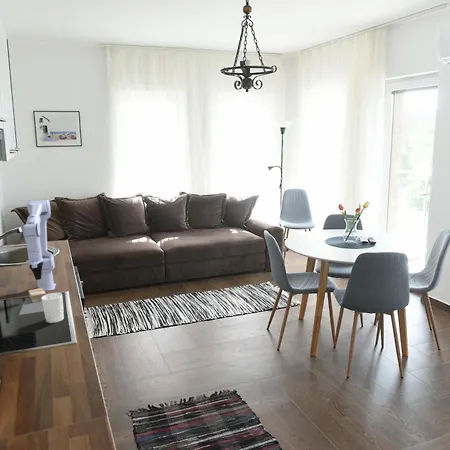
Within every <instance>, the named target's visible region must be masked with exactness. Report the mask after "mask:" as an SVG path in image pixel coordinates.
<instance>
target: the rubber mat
mask: <svg viewBox="0 0 450 450" xmlns="http://www.w3.org/2000/svg"><path fill="white" fill-rule="evenodd" d="M41 312H42V313H44V309H43V304H42V301H38V302H32V301H31V299H30V297H25V299H24V301H23V304H22V306H21V309H20V311H19V314H18V315H19V316H21V315H28V314H35V313H41Z"/></svg>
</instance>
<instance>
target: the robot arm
mask: <svg viewBox="0 0 450 450" xmlns="http://www.w3.org/2000/svg"><path fill="white" fill-rule="evenodd" d="M26 204H27V208H26V209H27V212H28V214H29V215H28V217H27V219H26V223H25V224H24V225H22V233H23V235H22V236H23V237H24V241H25V243H26V248H27V249H26V250H27V257H28V260H26V261H25V262H26V264H27V263H28V264H30V265H28V266H29V267H28V268H29V269H30V270H31V272H32V274H33V276H34V277H33V278H34V279H35V280H36V281H37V289H38V288H43V290H44V291H45V292H46V291H54V290H55V289H56V285H57V283H54V282H55V281H54V276H53V271H54V269H55V258H54V255H53V253H52V252H49V251H48V233H47V231H48V230H47V229H48V226H47V223H48V219H49V218H51V213H52V212H51V203H50V200H49V199H44V200H43V199H42V200H28V201H27V203H26Z"/></svg>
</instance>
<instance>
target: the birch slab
mask: <svg viewBox="0 0 450 450" xmlns="http://www.w3.org/2000/svg"><path fill="white" fill-rule="evenodd" d="M44 295H47V293H46V291H44V290H43V288H38V287H37V288H34V289H29V290H28V296H29V297H30V299H31V301H32V302H38V301H42V299H41V298H42V297H43V296H44Z"/></svg>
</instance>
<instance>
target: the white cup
mask: <svg viewBox="0 0 450 450" xmlns="http://www.w3.org/2000/svg"><path fill="white" fill-rule="evenodd" d="M63 298H64V297H63V294H62V292H51V293H48V294H47V293H46V295H44V296H43V297H42V298H41V299H42V304H43V309H44V311H43V313H44V317H45V322H46V323H49V324H53V323H59V322H61V321H63V320H64V318H65V315H64V313H65V312H64V300H63Z"/></svg>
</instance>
